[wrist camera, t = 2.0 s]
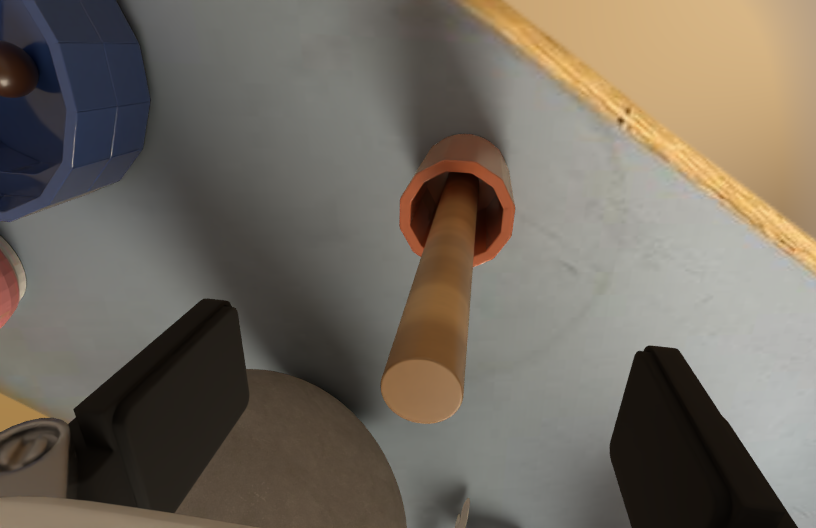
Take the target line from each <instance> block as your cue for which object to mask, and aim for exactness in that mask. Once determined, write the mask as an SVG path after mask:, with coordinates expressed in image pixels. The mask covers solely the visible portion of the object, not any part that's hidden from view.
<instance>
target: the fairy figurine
mask: <svg viewBox="0 0 816 528" xmlns="http://www.w3.org/2000/svg"><path fill="white" fill-rule="evenodd" d="M469 505H470V499H469V498H467V500H466V501H465V503H464V505H463V508H462V512H461V517H460V513H459V515H458V516H457V520H456V524H455V528H466V523H467V518H468V512H469ZM459 523H460V524H459Z"/></svg>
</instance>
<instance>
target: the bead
mask: <svg viewBox="0 0 816 528" xmlns="http://www.w3.org/2000/svg"><path fill="white" fill-rule="evenodd" d="M38 80H39V73H38V69H37V66H36V64H35V62H34V61H33V59H32V58H31V57H30V56H29V54H28V53H26V52H25V51H24V50H23V49H21V48H20V47H18V46H16V45H14V44H12V43H9V42H6V41H1V40H0V96H2V97H7V98H18V97H23V96H25V95H27V94H29V93H31V92H32V91H33V90H34V89H35V87H36V86H37V84H38Z"/></svg>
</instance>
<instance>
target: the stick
mask: <svg viewBox="0 0 816 528" xmlns="http://www.w3.org/2000/svg"><path fill="white" fill-rule="evenodd" d="M478 189H479V178H478V177H477V176H475V175H474V174H472V173H460V172H449V174H448V177H447V180H446V183H445V186H444V189H443V192H442V195H441V198H440V201H439V204H438V207H437V210H436V213H435V216H434V219H433V223H432V226H431V229H430V232H429V235H428V238H427V241H426V244H425V247H424V250H423V253H422V256H421V259H420V262H419V265H418V268H417V272H416V275H415V278H414V281H413V284H412V287H411V290H410V293H409V296H408V299H407V302H406V305H405V308H404V311H403V314H402V317H401V321H400V324H399V327H398V330H397V333H396V336H395V339H394V342H393V345H392V348H391V351H390V354H389V357H388V360H387V363H386V366H385V370H384V373H383V376H382V379H381V392H382V396H383V398H384V400H385V402H386V404H387V405H388V407H389V408H390V409H391V410H392V411H393V412H395V413H396V414H397V415H399V416H400V417H402V418H404V419H406V420H409V421H412V422H416V423H423V424H430V423H437V422H441V421H443V420H446V419H448V418H449V417H451V416H452V415H453V414H454V413H455V412H456V411H457V410H458V409H459V407H460V405H461V403H462V400H463V393H464V379H465V366H466V352H467V338H468V325H469V311H470V298H471V284H472V271H473V257H474V243H475V230H476V216H477V203H478Z"/></svg>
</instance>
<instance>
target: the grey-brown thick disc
mask: <svg viewBox="0 0 816 528" xmlns="http://www.w3.org/2000/svg"><path fill="white" fill-rule="evenodd" d="M246 373H247V380H248V387H249V402H248V405H247V408H246V409H245V411H244V412H243V414H242V415H241V417H240V418H239V420H238V421H237V423H236V424H235V426H234V427H233V429H232V430H231V431H230V433H229V434H228V436H227V437H226V439H225V440H224V442H223V443H222V445H221V446H220V448H219V449H218V450H217V452H216V453H215V455H214V456H213V458H212V459H211V461H210V462H209V464H208V465H207V467H206V468H205V469H204V471H203V472H202V474H201V475H200V477H199V478H198V480H197V481H196V483H195V484H194V486H193V487H192V488H191V490H190V491H189V493H188V494H187V496H186V497H185V499H184V500H183V502H182V503H181V505H180V506H179V507H178V509H177V510H176V512H175V513H174V514H180V515H186V516H192V517H198V518H204V519H210V520H216V521H222V522H228V523H234V524H240V525H246V526H252V527H258V528H407V525H406V517H405V511H404V506H403V501H402V497H401V494H400V491H399V487H398V485H397V482H396V479H395V476H394V474H393V472H392V469H391V467H390V465H389V463H388V461H387V459H386V457H385V455H384V453H383V452H382V450H381V448H380V447H379V445H378V443H377V442H376V440H375V439H374V437H373V436H372V435H371V433H370V432H369V431H368V429H367V428H366V427H365V426H364V424H363V423H362V422H361V421H360V420H359V419H358V418H357V417H356V416H355V415H354V414H353V413H352V412H351V411H350V410H349V409H348V408H347V407H346V406H345V405H343V404H342V403H341V402H340V401H338V400H337V399H336V398H334V397H333V396H332V395H330V394H329V393H327V392H326V391H324V390H322V389H321V388H319V387H317V386H315V385H313V384H311V383H309V382H307V381H304V380H302V379H299V378H297V377H294V376H291V375H287V374H284V373H279V372H274V371H268V370H259V369H246Z"/></svg>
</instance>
